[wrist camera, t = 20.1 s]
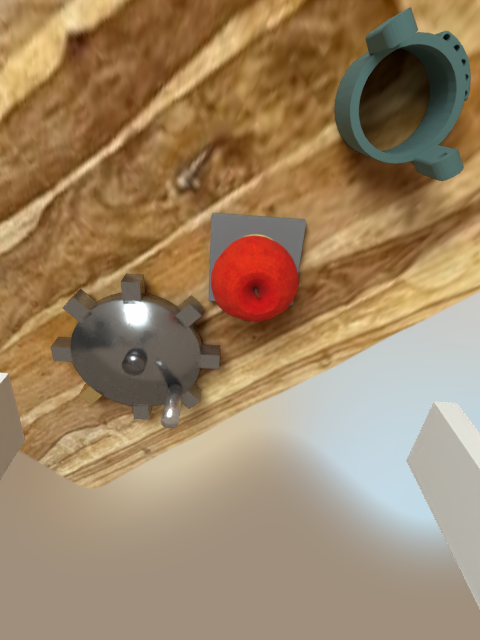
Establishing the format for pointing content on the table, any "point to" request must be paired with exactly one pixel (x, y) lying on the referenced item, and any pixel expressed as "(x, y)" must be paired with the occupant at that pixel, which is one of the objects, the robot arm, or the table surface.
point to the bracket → (444, 103)
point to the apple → (254, 279)
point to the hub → (134, 363)
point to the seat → (239, 226)
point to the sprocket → (137, 349)
